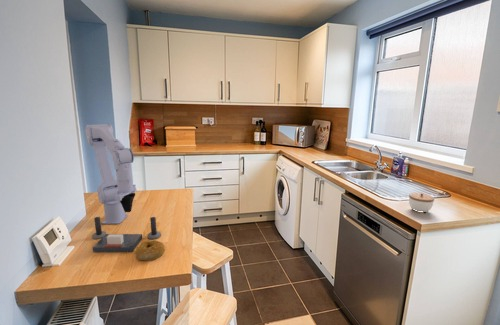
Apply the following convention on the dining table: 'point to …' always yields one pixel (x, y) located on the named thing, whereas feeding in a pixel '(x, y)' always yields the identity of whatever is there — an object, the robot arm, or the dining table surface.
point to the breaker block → (126, 246)
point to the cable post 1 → (98, 229)
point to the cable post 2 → (153, 229)
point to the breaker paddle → (115, 239)
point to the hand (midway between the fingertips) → (127, 211)
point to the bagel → (150, 250)
